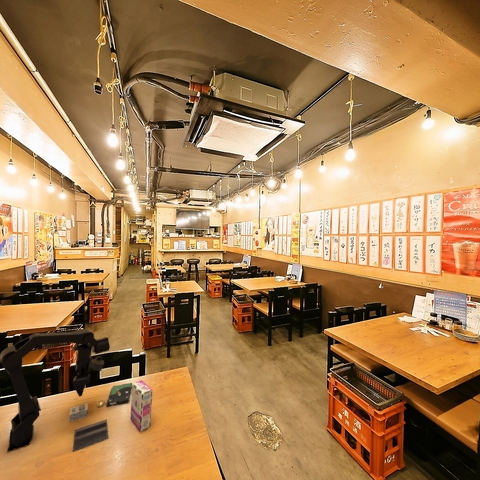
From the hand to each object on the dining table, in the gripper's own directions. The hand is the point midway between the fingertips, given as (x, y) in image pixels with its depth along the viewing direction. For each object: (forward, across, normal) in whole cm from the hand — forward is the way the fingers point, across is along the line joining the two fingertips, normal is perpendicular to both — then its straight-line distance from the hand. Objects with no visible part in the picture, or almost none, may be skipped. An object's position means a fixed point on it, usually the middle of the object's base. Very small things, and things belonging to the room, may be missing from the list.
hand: (81, 390), depth 107 cm
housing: (+12, +1, 0) cm, 12 cm away
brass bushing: (+12, +4, -9) cm, 15 cm away
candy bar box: (+12, -18, -24) cm, 32 cm away
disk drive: (+12, +7, -18) cm, 23 cm away
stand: (+12, -15, -5) cm, 20 cm away
